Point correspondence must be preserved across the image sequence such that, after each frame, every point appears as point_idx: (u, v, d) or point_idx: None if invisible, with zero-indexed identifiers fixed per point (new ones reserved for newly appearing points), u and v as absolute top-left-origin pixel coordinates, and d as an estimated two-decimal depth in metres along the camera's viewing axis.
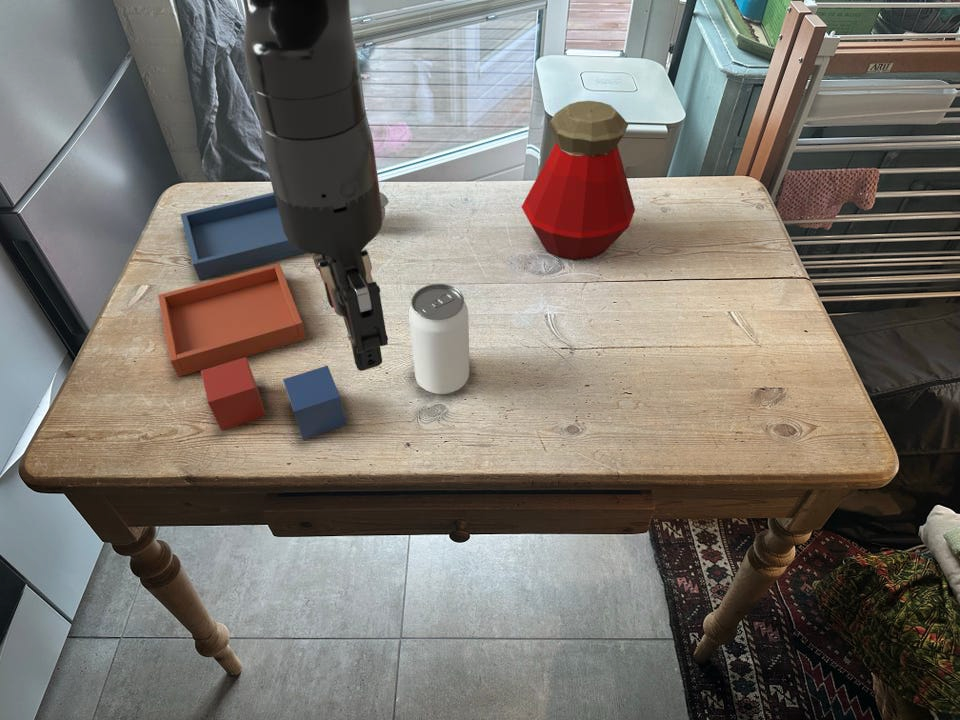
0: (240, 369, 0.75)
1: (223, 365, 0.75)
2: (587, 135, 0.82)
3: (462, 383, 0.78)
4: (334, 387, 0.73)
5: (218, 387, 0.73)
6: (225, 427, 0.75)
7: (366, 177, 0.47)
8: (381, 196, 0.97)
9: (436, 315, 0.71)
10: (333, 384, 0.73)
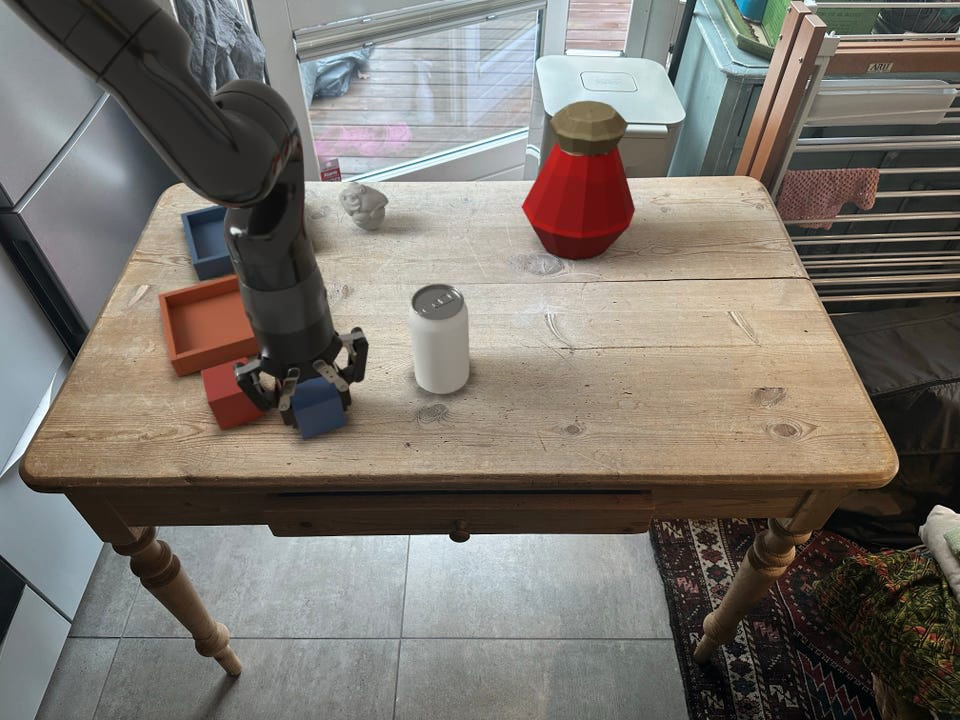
0: None
1: (223, 365, 0.75)
2: (587, 134, 0.82)
3: (462, 383, 0.78)
4: (334, 387, 0.73)
5: (218, 387, 0.73)
6: (225, 427, 0.75)
7: (259, 322, 0.61)
8: (381, 196, 0.97)
9: (436, 315, 0.71)
10: None
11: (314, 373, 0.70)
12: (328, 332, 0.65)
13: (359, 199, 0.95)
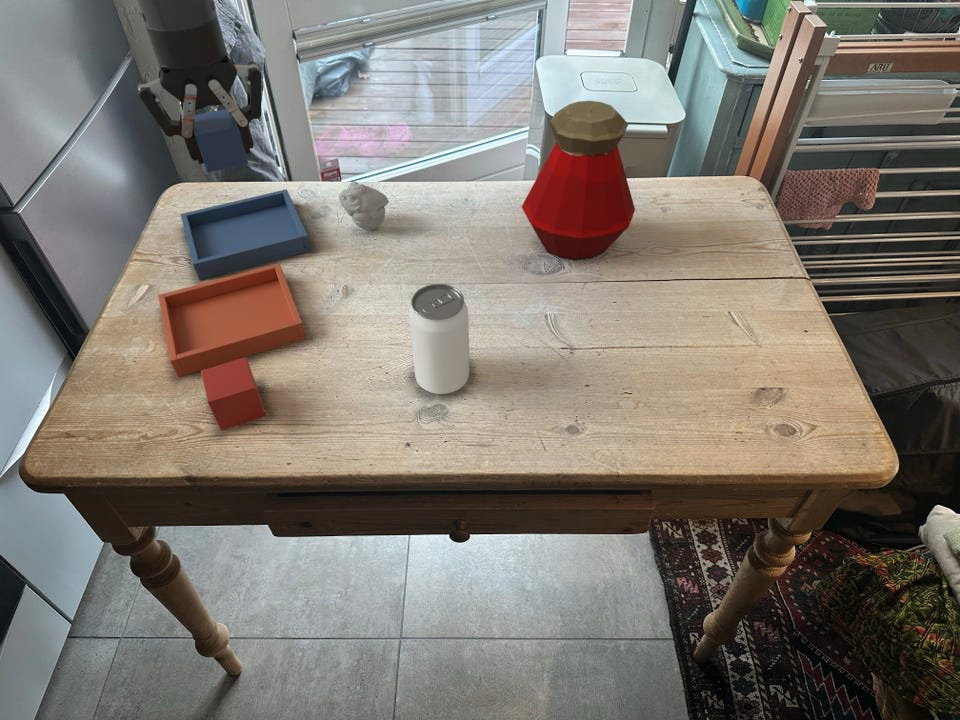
0: (240, 369, 0.75)
1: (223, 365, 0.75)
2: (587, 134, 0.82)
3: (462, 383, 0.78)
4: (234, 121, 0.82)
5: (218, 387, 0.73)
6: (225, 427, 0.75)
7: (150, 18, 0.70)
8: (381, 196, 0.97)
9: (436, 315, 0.71)
10: (233, 119, 0.82)
11: (212, 99, 0.79)
12: (218, 45, 0.74)
13: (359, 199, 0.95)
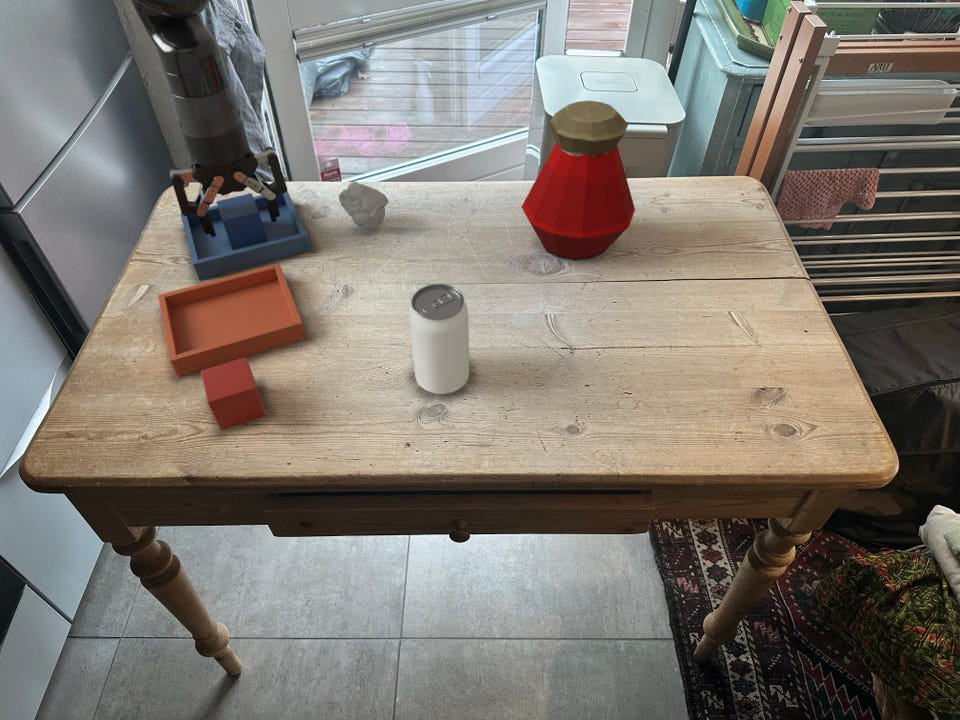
0: (240, 369, 0.75)
1: (223, 365, 0.75)
2: (587, 134, 0.82)
3: (462, 383, 0.78)
4: (255, 206, 0.94)
5: (218, 387, 0.73)
6: (225, 427, 0.75)
7: (187, 127, 0.82)
8: (381, 196, 0.97)
9: (436, 315, 0.71)
10: (254, 204, 0.94)
11: (236, 186, 0.91)
12: (243, 144, 0.86)
13: (359, 199, 0.95)
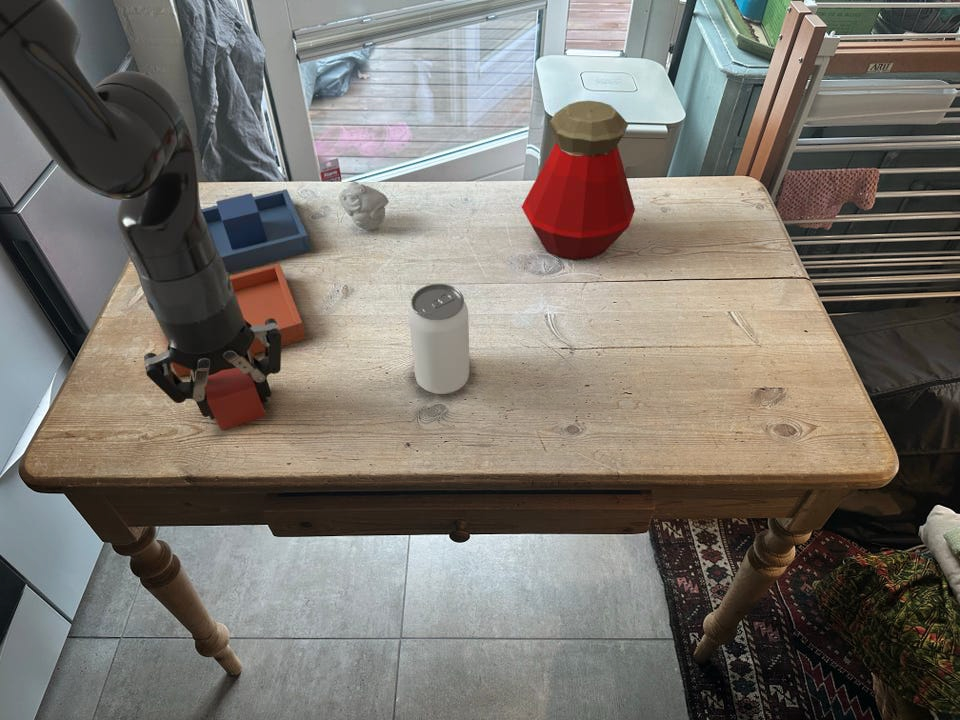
0: None
1: None
2: (587, 134, 0.82)
3: (462, 383, 0.78)
4: (255, 206, 0.94)
5: (218, 388, 0.73)
6: (225, 427, 0.75)
7: (160, 312, 0.62)
8: (381, 196, 0.97)
9: (436, 315, 0.71)
10: (254, 204, 0.94)
11: (227, 364, 0.71)
12: (235, 322, 0.66)
13: (359, 199, 0.95)
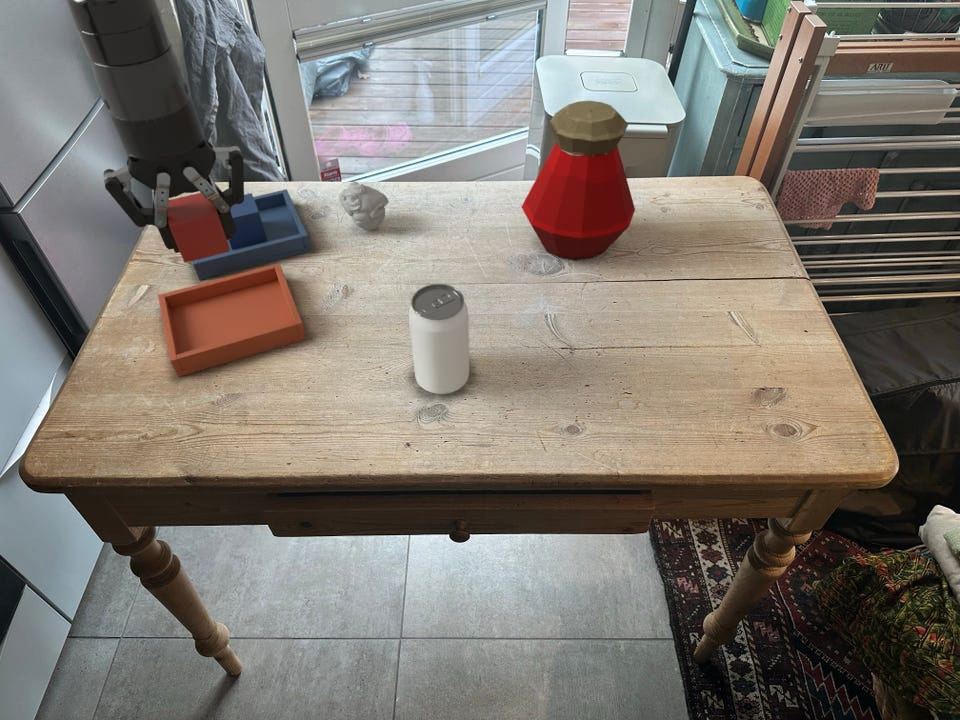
0: (203, 200, 0.74)
1: (186, 196, 0.74)
2: (587, 134, 0.82)
3: (462, 383, 0.78)
4: (255, 206, 0.94)
5: (180, 214, 0.72)
6: (188, 259, 0.74)
7: (114, 107, 0.61)
8: (381, 196, 0.97)
9: (436, 315, 0.71)
10: (254, 204, 0.94)
11: (188, 186, 0.70)
12: (193, 131, 0.65)
13: (359, 199, 0.95)
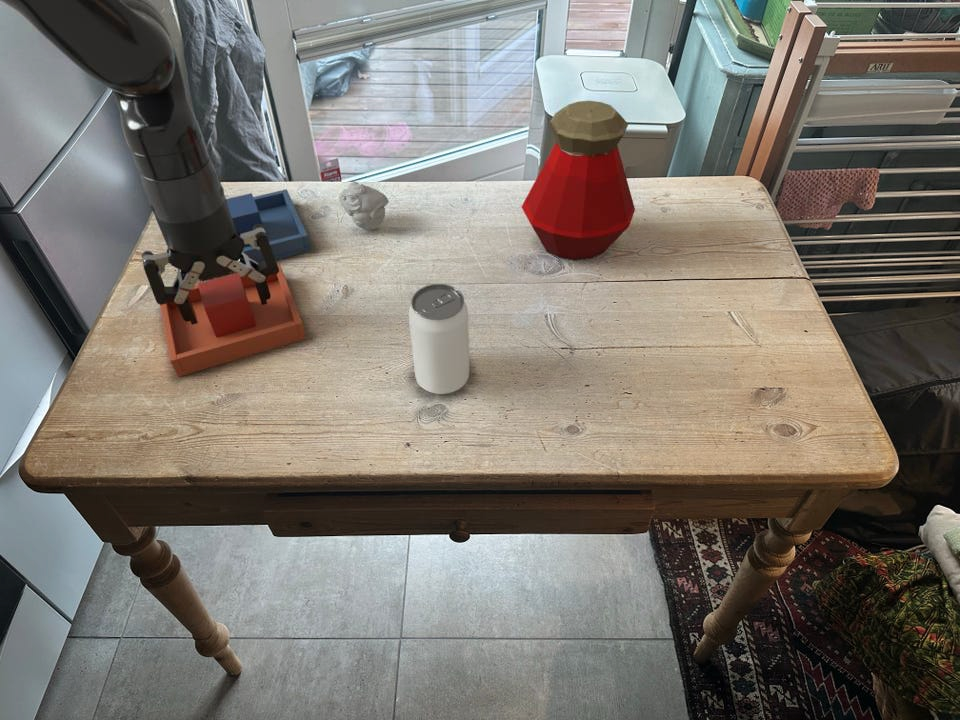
0: (233, 282, 0.83)
1: (218, 279, 0.84)
2: (587, 134, 0.82)
3: (462, 383, 0.78)
4: (255, 206, 0.94)
5: (213, 296, 0.81)
6: (220, 334, 0.84)
7: (160, 212, 0.70)
8: (381, 196, 0.97)
9: (436, 315, 0.71)
10: (254, 204, 0.94)
11: (220, 270, 0.79)
12: (226, 227, 0.74)
13: (359, 199, 0.95)
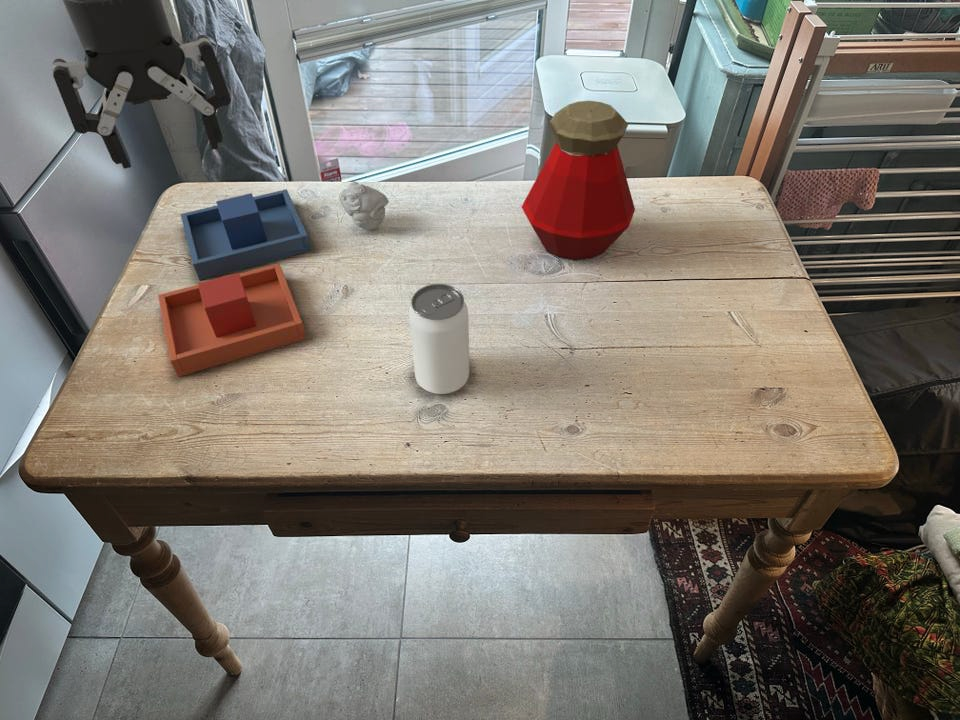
0: (233, 282, 0.83)
1: (218, 279, 0.84)
2: (587, 134, 0.82)
3: (462, 383, 0.78)
4: (255, 206, 0.94)
5: (213, 296, 0.81)
6: (220, 334, 0.84)
7: None
8: (381, 196, 0.97)
9: (436, 315, 0.71)
10: (254, 204, 0.94)
11: (154, 91, 0.63)
12: (157, 22, 0.58)
13: (359, 199, 0.95)
